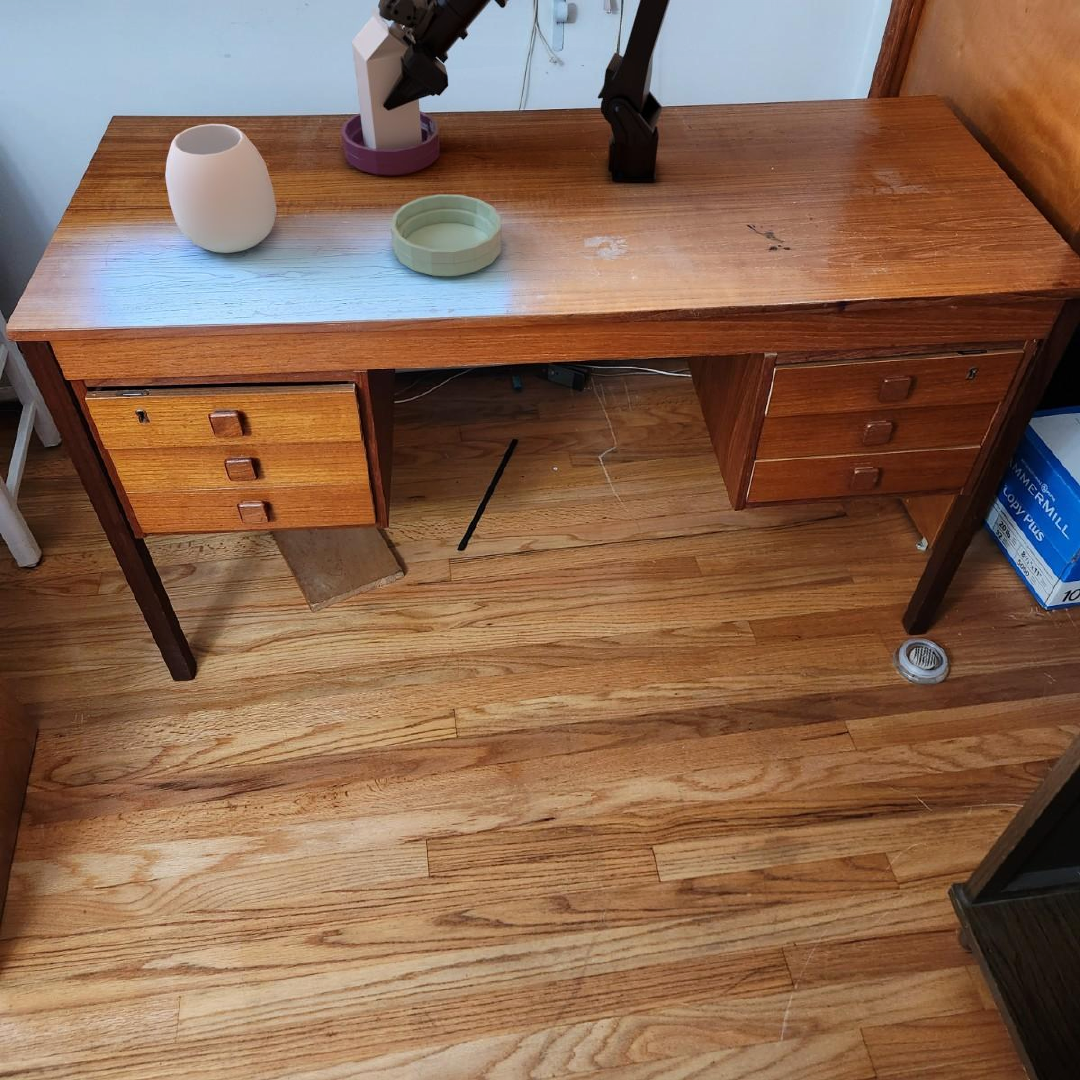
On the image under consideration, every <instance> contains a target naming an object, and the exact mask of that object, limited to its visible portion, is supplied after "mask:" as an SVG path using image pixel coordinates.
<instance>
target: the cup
mask: <svg viewBox="0 0 1080 1080" xmlns="http://www.w3.org/2000/svg"><path fill="white" fill-rule="evenodd" d="M165 164H166V165H165V166H166V167H165V175H164V176H165V184H166V189H167V196H168V200H169V205H170V208H171V212H172V216H173V218H174V221H175V225H176V226H177V227H178V228H179V230H180V232H182V234H183V235H184V236H185V238H187V239H188V240H189V241H190V242H191V243H192V244H194V245H196V246H198V247H200V248H202V249H203V250H207V251H210V252H213V253H224V254H230V253H237V252H242V251H246V250H248V249H250V248H251V249H252V248H254V247H255V246H257V245H258V244H259V243H260V242H262V241H263V240H265V239H266V238H267V236H269V234H270V233H271V231H272V229H273V227H274V226H275V225H274V224H275V221H276V215H277V210H278V208H277V203H276V197H275V191H274V187H273V184H272V180H271V177H270V174H269V171H268V167H267V164H266V161H265V160H264V158H263V157H262V155H261V153H260V152H259V150H258V149H257V147H256V146H255V145H254V143H253V142H252V141H251V140H250V139H249V137H247V135H246V134H245V133H244V132H243V131H242V130H241V129H239V128H237V127H235V126H232V125H228V124H223V123H208V124H200V125H196V126H192V127H189V128H186V129H184V130H183V131H181V132H179V133H178V134H176V135H175V137H174V138H173V139H172V141H171V143H170V147H169V150H168V154H167V157H166V163H165Z"/></svg>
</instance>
